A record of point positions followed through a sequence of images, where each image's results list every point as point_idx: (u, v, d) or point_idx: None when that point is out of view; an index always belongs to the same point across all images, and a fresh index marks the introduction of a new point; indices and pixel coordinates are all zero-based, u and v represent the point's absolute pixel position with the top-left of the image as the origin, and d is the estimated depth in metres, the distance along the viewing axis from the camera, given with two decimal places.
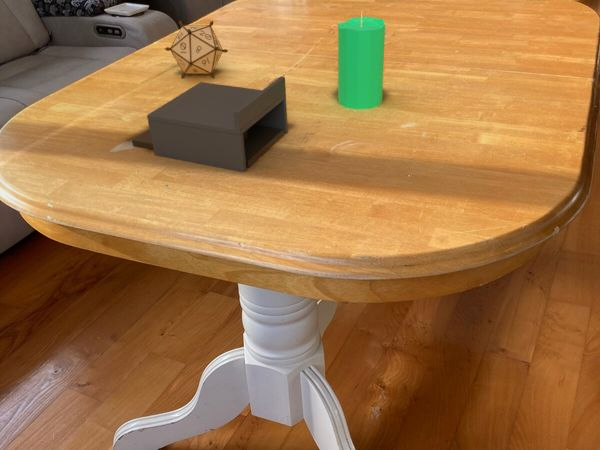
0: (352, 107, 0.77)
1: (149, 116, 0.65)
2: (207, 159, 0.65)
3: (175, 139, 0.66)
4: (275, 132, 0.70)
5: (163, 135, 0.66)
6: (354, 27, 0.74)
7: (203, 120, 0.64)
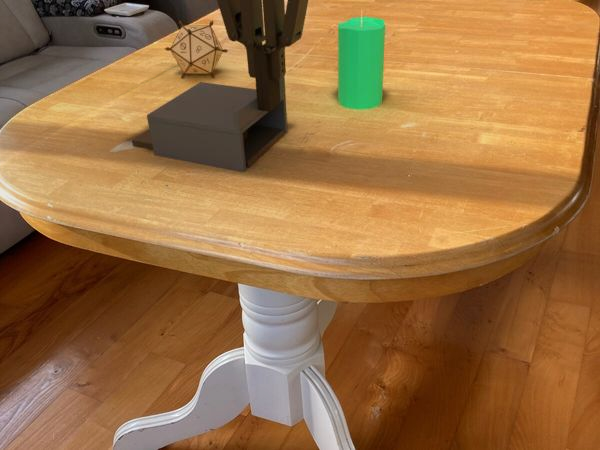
0: (352, 107, 0.77)
1: (149, 116, 0.65)
2: (207, 159, 0.65)
3: (175, 139, 0.66)
4: (275, 132, 0.70)
5: (163, 135, 0.66)
6: (354, 27, 0.74)
7: (203, 120, 0.64)
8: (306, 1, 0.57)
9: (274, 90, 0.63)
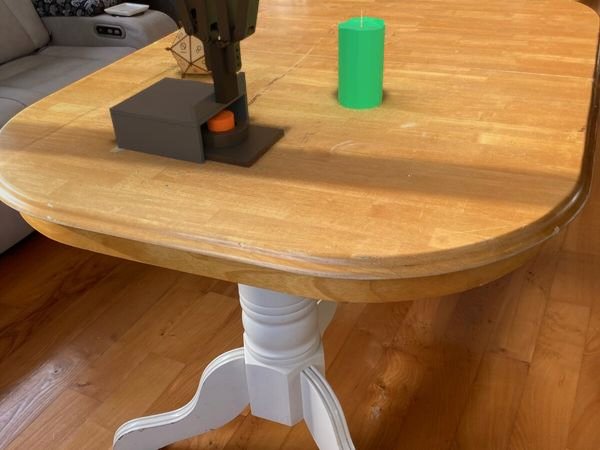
0: (352, 107, 0.77)
1: (111, 110, 0.67)
2: (167, 151, 0.67)
3: (136, 132, 0.68)
4: (275, 132, 0.70)
5: (125, 128, 0.68)
6: (354, 27, 0.74)
7: (162, 114, 0.66)
8: None
9: (231, 83, 0.65)
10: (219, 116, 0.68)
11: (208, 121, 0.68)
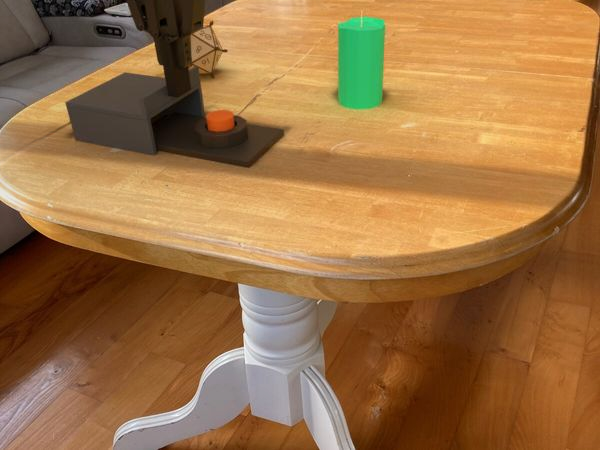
0: (352, 107, 0.77)
1: (67, 103, 0.70)
2: (121, 143, 0.69)
3: (92, 125, 0.70)
4: (275, 132, 0.70)
5: (81, 121, 0.70)
6: (354, 27, 0.74)
7: (115, 107, 0.68)
8: None
9: (182, 77, 0.68)
10: (219, 116, 0.68)
11: (208, 121, 0.68)
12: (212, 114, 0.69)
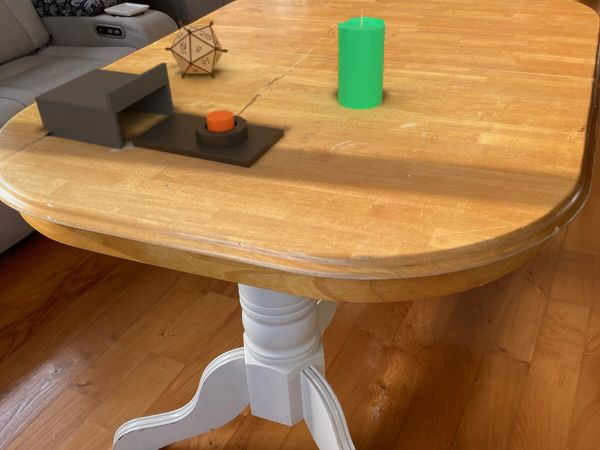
0: (352, 107, 0.77)
1: (36, 98, 0.71)
2: (89, 138, 0.71)
3: (60, 119, 0.71)
4: (275, 132, 0.70)
5: (50, 116, 0.72)
6: (354, 27, 0.74)
7: (83, 102, 0.69)
8: None
9: None
10: (219, 116, 0.68)
11: (208, 121, 0.68)
12: (212, 114, 0.69)
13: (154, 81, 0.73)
